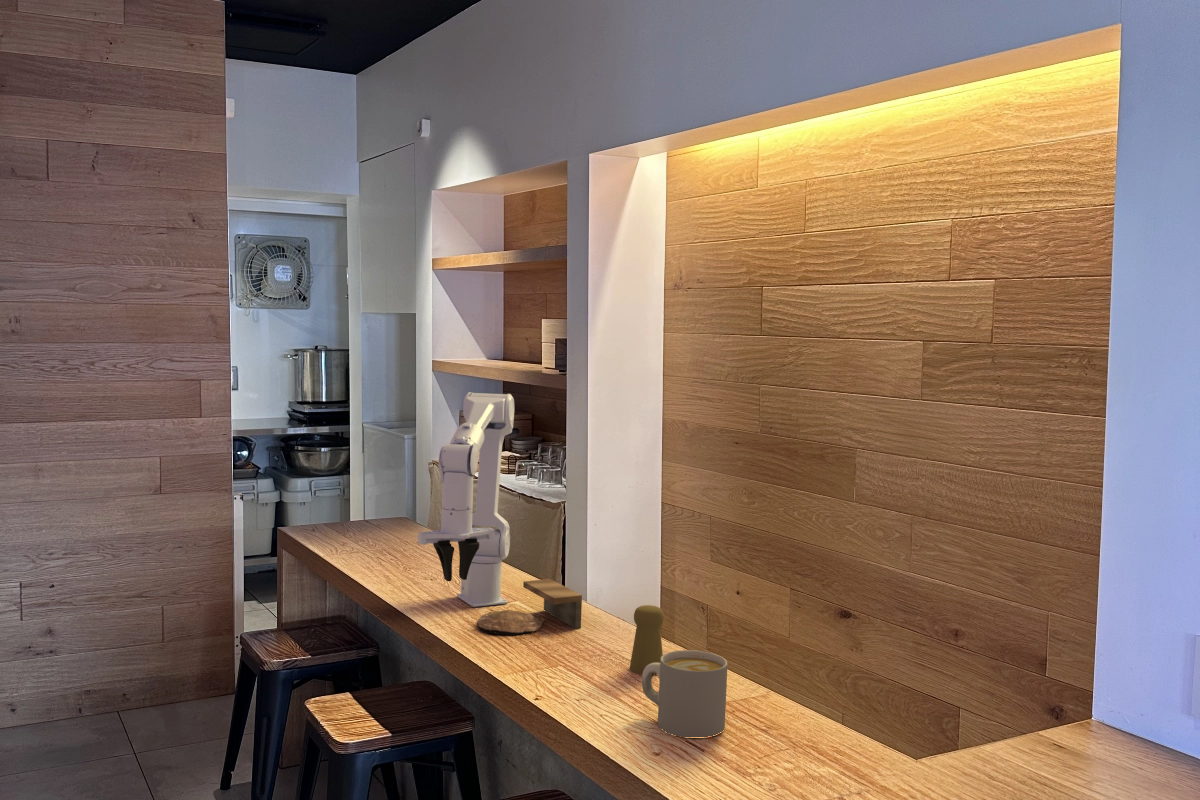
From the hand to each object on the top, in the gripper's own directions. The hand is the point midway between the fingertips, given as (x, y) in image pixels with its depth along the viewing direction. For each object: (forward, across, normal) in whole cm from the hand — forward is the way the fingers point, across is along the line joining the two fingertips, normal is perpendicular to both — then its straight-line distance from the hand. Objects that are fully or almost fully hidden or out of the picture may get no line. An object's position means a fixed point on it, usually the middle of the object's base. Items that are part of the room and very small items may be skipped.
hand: (455, 579), depth 196 cm
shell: (+11, +11, 0) cm, 16 cm away
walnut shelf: (+10, +21, +1) cm, 23 cm away
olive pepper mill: (+11, +23, -32) cm, 41 cm away
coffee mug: (+11, +15, -55) cm, 58 cm away
